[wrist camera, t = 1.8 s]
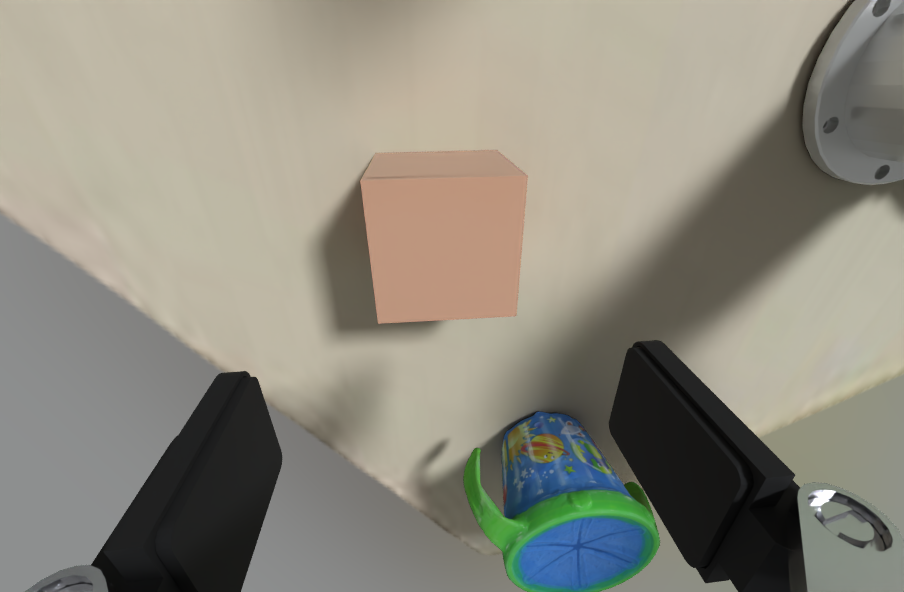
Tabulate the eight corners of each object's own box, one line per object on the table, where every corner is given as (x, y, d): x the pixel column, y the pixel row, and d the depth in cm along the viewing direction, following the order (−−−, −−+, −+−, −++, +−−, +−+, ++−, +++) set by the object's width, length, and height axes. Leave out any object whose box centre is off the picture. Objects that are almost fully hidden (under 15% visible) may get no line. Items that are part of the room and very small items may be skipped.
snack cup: (436, 452, 35) (443, 580, 26) (498, 368, 30) (532, 486, 22) (573, 492, 39) (620, 613, 30) (643, 424, 35) (720, 540, 26)
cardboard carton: (497, 150, 22) (527, 175, 16) (492, 260, 26) (516, 316, 20) (375, 153, 22) (360, 180, 16) (386, 265, 25) (378, 323, 19)
